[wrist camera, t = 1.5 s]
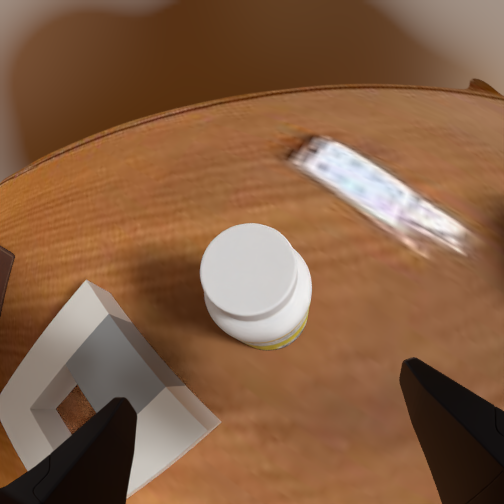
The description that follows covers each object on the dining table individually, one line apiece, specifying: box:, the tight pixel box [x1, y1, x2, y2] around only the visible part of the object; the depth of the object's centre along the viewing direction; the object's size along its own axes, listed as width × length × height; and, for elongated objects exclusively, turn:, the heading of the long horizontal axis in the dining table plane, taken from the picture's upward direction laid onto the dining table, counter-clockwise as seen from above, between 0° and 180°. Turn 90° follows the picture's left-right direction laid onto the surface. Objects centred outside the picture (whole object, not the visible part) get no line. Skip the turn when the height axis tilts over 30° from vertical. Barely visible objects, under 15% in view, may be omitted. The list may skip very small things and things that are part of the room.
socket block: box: [0, 280, 221, 499], centre depth 17 cm, size 14×18×4 cm
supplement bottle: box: [200, 223, 312, 350], centre depth 16 cm, size 5×5×10 cm
